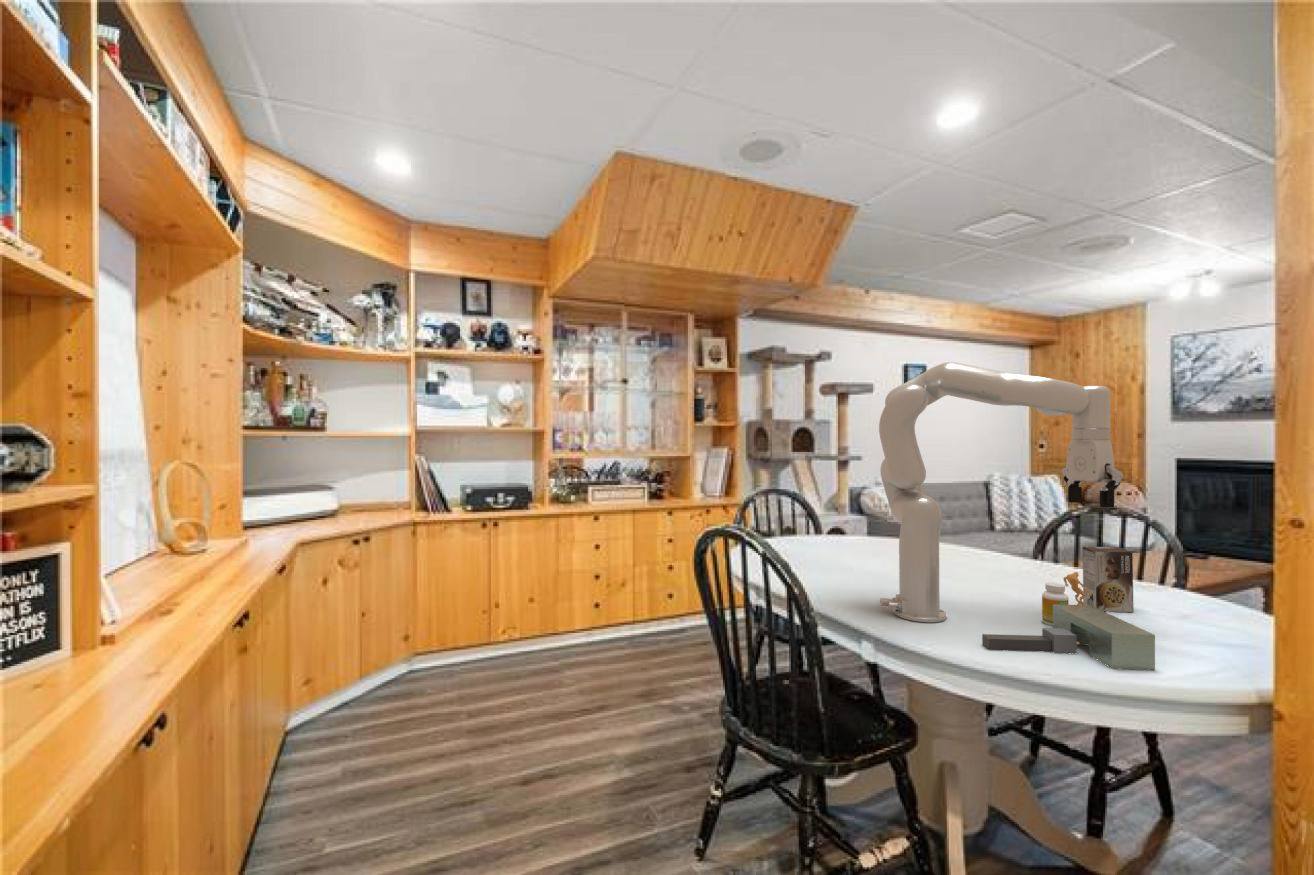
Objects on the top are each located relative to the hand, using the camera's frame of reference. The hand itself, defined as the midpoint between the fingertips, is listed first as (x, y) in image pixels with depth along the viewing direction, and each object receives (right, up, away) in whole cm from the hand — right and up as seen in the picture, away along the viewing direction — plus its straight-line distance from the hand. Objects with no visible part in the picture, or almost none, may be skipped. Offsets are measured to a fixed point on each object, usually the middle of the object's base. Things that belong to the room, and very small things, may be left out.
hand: (1090, 504), depth 142 cm
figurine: (-1, -30, +3) cm, 30 cm away
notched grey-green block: (-12, -29, -18) cm, 37 cm away
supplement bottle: (-9, -30, -1) cm, 31 cm away
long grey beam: (-26, -30, -17) cm, 43 cm away
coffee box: (+13, -29, +11) cm, 34 cm away
